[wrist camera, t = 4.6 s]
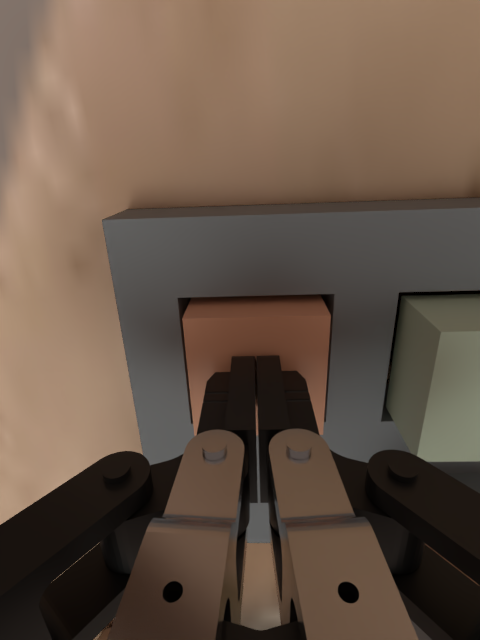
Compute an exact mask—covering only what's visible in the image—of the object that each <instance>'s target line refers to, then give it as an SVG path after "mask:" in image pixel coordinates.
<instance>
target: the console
mask: <svg viewBox="0 0 480 640" xmlns="http://www.w3.org/2000/svg"><path fill="white" fill-rule="evenodd" d="M102 223H103V229H104V235H105V240H106V246H107V252H108V257H109V263H110V269H111V275H112V280H113V286H114V292H115V297H116V303H117V309H118V314H119V320H120V326H121V331H122V337H123V343H124V348H125V354H126V360H127V365H128V371H129V377H130V382H131V388H132V394H133V399H134V405H135V411H136V416H137V422H138V428H139V433H140V439H141V445H142V450H143V456H145V457H146V458H147V460H148V461H149V464H150V465H153V464H157V463H161V462H164V461H168V460H171V459H174V458H176V457H178V456H180V455H182V454H183V453H184V451H185V448H186V446H187V444H188V442H189V441H190V440H191V439H192V438H193V437H195V436H194V427H193V417H192V408H191V398H190V388H189V379H188V369H187V360H186V350H185V340H184V331H183V321H182V318H183V316H184V313H185V311H186V309H187V306H188V304H189V302H190V299H191V297H228V296H269V295H310V294H320V295H321V297H322V299H323V301H324V303H325V305H326V307H327V309H328V311H329V313H330V315H331V322H330V337H329V352H328V367H327V383H326V398H325V413H324V428H323V435H320V436H321V437H322V438H323V439H324V440H325V441H326V443H327V444H328V446H329V449H330V450H332V451H333V452H335V453H337V454H339V455H341V456H343V457H346V458H350V459H353V460H358V461H362V462H366V463H368V462H369V459H370V458H371V457H372V456H373V455H374V454H375V453H377V452H379V451H383V450H401V451H405V452H409V453H411V452H410V450H409V448H408V447H407V445H406V443H405V441H404V439H403V437H402V436H401V434H400V432H399V430H398V428H397V426H396V424H395V423H394V421H393V419H392V417H391V415H390V413H389V412H388V410H387V408H386V401H387V394H388V387H389V384H386V382H387V375H388V367H389V360H390V353H391V346H392V339H393V332H394V324H395V317H396V310H397V303H398V296H399V292H433V291H474V290H480V198H451V199H421V200H391V201H361V202H331V203H301V204H271V205H242V206H212V207H182V208H152V209H127V210H124V211H122V212H120V213H117V214H115V215H113V216H110V217H108V218H105V219H103V220H102ZM256 448H257V492H258V503H250V520H249V524H248V536H247V543H270V535H269V505H268V503H260V475H259V442H258V435H256ZM428 463H430V464H431V465H433V466H435V467H436V468H438V469H440V470H441V471H443V472H445V473H446V474H448V475H450V476H451V477H453V478H455V479H456V480H458V481H460V482H461V483H463V484H465V485H466V486H468V487H470V488H471V489H473V490H475V491H476V492H478V493H480V461H467V462H428ZM427 546H428V545H427ZM428 547H429V546H428ZM429 548H430V547H429ZM431 549H432V548H431ZM432 550H433V549H432ZM433 551H434V550H433ZM435 552H436V551H435ZM436 553H437V552H436ZM437 554H438V553H437ZM440 556H441V555H440ZM441 557H442V556H441ZM442 558H443V557H442ZM444 559H445V558H444ZM445 560H446V559H445ZM446 561H447V560H446ZM448 562H449V561H448ZM449 563H450V562H449ZM450 564H451V563H450ZM453 566H454V565H453ZM454 567H455V566H454ZM455 568H456V567H455ZM457 569H458V568H457ZM458 570H459V569H458ZM459 571H460V570H459ZM461 572H462V571H461ZM462 573H463V572H462ZM463 574H464V573H463ZM464 575H465V574H464ZM466 576H467V575H466ZM467 577H468V576H467ZM468 578H469V577H468ZM470 579H471V578H470ZM471 580H472V579H471ZM472 581H473V580H472ZM474 582H475V581H474ZM475 583H476V582H475ZM476 584H477V583H476ZM477 585H478V584H477ZM410 620H411V619H410ZM411 622H412V625H413V627H414V630H415V632H416V635H417V637H418V639H419V640H432V639H431V638H430V637H429V636H428V635H427V634H425V633H424V632H423V631H422V630H421V629H420V628H419V627H418V626H417V625H416V624H415V623H414V622H413V621H412V620H411Z"/></svg>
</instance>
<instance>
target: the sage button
mask: <svg viewBox="0 0 480 640" xmlns="http://www.w3.org/2000/svg"><path fill="white" fill-rule="evenodd" d="M386 408H387V410H388V412H389V413H390V415H391V417H392V419H393V421H394V423H395V424H396V426H397V428H398V430H399V432H400V434H401V436H402V437H403V439H404V441H405V443H406V445H407V447H408V448H409V450H410V452H411V454H414V455H416V456H418V457H420V458H421V459H423V460H425V461H426V462H467V461H480V294H453V295H412V296H401V303H400V310H399V317H398V324H397V331H396V338H395V345H394V352H393V359H392V366H391V373H390V380H389V387H388V394H387V401H386Z"/></svg>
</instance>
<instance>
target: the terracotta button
mask: <svg viewBox="0 0 480 640" xmlns="http://www.w3.org/2000/svg"><path fill="white" fill-rule="evenodd" d="M182 321H183V331H184V340H185V350H186V360H187V369H188V379H189V388H190V398H191V408H192V417H193V427H194V436H196V435H197V430H198V425H199V419H200V414H201V409H202V404H203V399H204V394H205V388H206V383H207V381H208V380H209V378H210V377H211V376H212V375H213V374H214V373H215V372H230V370H231V359H232V356H254V360H255V404H256V435H258V408H257V360H256V356H271V355H279V357H280V364H281V370H282V371H298V372H299V373H300V374H301V375H302V376H303V377H304V378H305V379H306V383H307V387H308V392H309V395H310V399H311V403H312V407H313V411H314V415H315V419H316V422H317V426H318V430H319V434H320V435H323V428H324V413H325V398H326V383H327V367H328V352H329V337H330V322H331V315H330V313H329V311H328V309H327V307H326V305H325V303H324V301H323V299H322V297H321V295H320V294H310V295H269V296H228V297H191V299H190V302H189V304H188V306H187V309H186V311H185V313H184V316H183V318H182Z"/></svg>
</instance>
